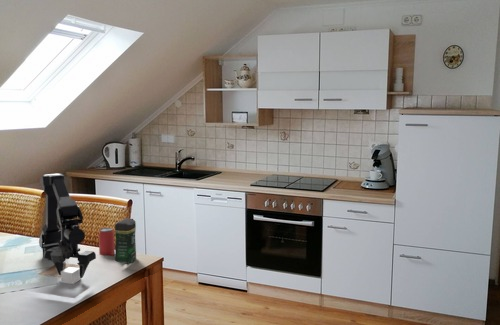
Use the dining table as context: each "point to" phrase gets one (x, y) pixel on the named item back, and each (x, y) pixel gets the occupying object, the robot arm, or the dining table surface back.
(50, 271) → the post base
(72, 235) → the robot arm
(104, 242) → the beer can
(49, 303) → the dining table surface
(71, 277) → the white block
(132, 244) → the coffee jar
